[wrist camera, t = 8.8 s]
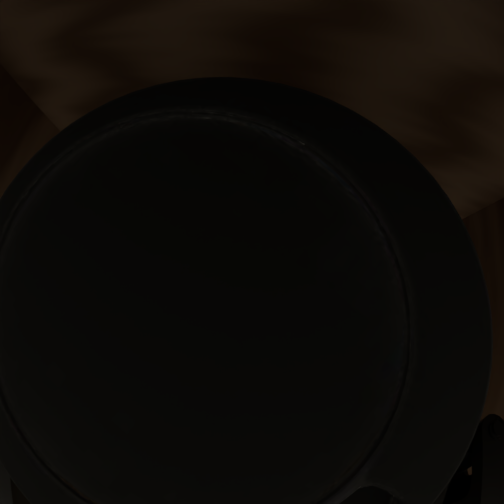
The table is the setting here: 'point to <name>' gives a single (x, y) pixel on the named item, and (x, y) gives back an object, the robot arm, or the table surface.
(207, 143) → the coffee cup
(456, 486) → the robot arm
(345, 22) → the walnut box
